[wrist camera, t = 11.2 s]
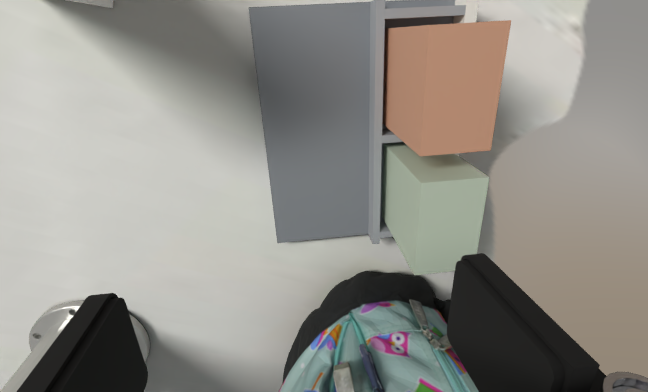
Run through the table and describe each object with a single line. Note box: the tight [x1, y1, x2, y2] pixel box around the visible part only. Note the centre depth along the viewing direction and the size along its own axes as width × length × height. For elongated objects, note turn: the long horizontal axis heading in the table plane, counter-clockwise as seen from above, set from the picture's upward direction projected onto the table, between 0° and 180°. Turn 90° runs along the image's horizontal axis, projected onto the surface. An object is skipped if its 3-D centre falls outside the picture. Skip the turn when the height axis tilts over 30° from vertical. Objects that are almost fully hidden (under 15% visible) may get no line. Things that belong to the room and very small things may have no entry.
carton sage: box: [382, 142, 489, 275], centre depth 31 cm, size 8×5×10 cm, turn 3°
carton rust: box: [382, 20, 511, 156], centre depth 26 cm, size 8×5×10 cm, turn 3°
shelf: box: [249, 0, 479, 244], centre depth 33 cm, size 22×18×4 cm
